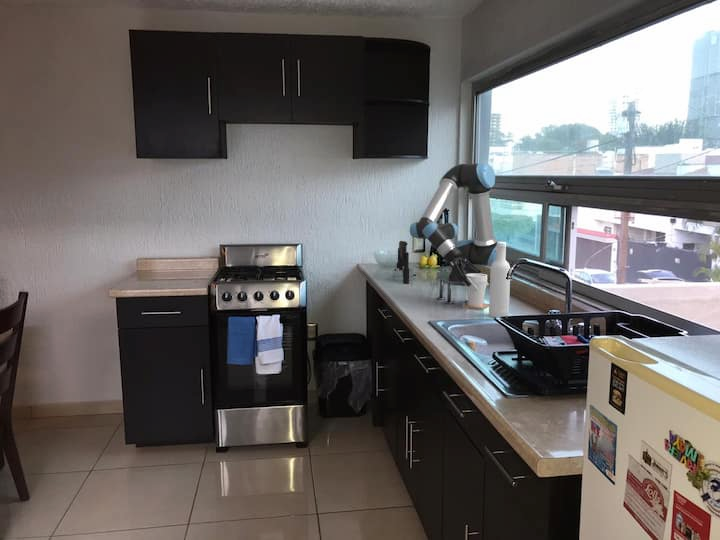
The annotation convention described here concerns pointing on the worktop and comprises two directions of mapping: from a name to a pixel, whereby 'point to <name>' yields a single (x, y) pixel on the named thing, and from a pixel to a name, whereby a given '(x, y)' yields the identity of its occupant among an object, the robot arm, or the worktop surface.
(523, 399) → the worktop surface
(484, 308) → the coaster
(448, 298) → the bent rail
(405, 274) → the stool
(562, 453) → the worktop surface
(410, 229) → the robot arm
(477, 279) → the foam cup
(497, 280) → the bottle
